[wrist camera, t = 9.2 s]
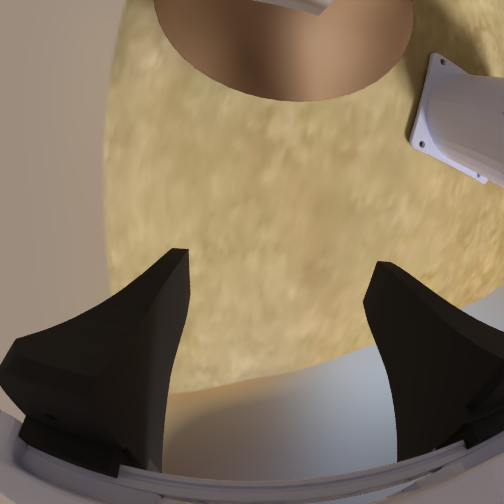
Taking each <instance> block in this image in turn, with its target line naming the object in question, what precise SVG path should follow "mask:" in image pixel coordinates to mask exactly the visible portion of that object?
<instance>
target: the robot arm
mask: <svg viewBox="0 0 504 504" xmlns="http://www.w3.org/2000/svg"><path fill="white" fill-rule="evenodd" d="M440 60H442V62H443V64H441V62H440ZM421 141H422V146H421V147H420V146H419V143H420V142H421ZM409 143H410V145H411V146H412V147H413V148H415V149H418V150H420V151H422V152H424V153H426V154H428V155H430V156H433V157H435V158H437V159H439V160H441V161H443V162H445V163H447V164H449V165H451V166H452V167H454V168H456V169H458V170H460V171H462V172H464V173H466V174H467V175H469V176H471V177H473V178H474V179H476V180H478V181H480V182H481V183H483V184H485V183H486V182H487V181H488V179H489V180H490V181H492V182H494V183H496V184H497V185H499V186H501V187H502V188H504V78H499V77H491V76H481V75H470V74H468V73H467V72H465V71H464V70H463V69H461V68H460V67H458V66H457V65H455V64H454V63H452V62H451V61H450V60H448V59H446V58H445V57H443V56H442V55H440V54H439V53H432V54H431V56H430V60H429V65H428V70H427V75H426V79H425V83H424V88H423V92H422V96H421V100H420V104H419V107H418V111H417V115H416V118H415V122H414V125H413V129H412V132H411V136H410V139H409ZM477 173H478V175H477ZM189 300H190V275H189V249H178V248H172V249H170V250H169V251H168V252H167V253H166V254H165V255H163V256H162V257H161V258H160V259H159V260H158V261H157V262H156V263H154V264H153V265H152V266H151V267H150V268H149V269H147V270H146V271H145V272H144V273H143V274H142V275H140V276H139V277H138V278H136V279H135V280H134V281H132V282H131V283H130V284H129V285H127V286H126V287H125V288H123V289H122V290H121V291H119V292H118V293H116V294H115V295H113V296H112V297H110V298H109V299H107V300H106V301H104V302H102V303H101V304H99V305H97V306H95V307H93V308H92V309H90V310H88V311H86V312H84V313H82V314H80V315H78V316H77V317H74V318H72V319H70V320H68V321H66V322H64V323H61V324H59V325H56V326H54V327H51V328H48V329H46V330H43V331H40V332H37V333H34V334H30V335H27V336H24V337H21V338H17V339H16V340H15V341H14V343H13V344H12V346H11V348H10V349H9V351H8V353H7V354H6V356H5V358H4V360H3V361H2V363H1V365H0V386H1V387H2V389H3V390H4V391H5V393H6V394H7V395H8V396H9V397H10V399H11V400H12V401H13V402H14V403H15V404H16V406H17V407H18V408H19V409H20V410H21V411H22V412H23V413H24V414H25V415H26V417H25V419H24V422H23V423H21V422H20V421H18V420H17V419H16V418H14V417H12V416H11V415H9V414H7V413H5V412H3V411H1V410H0V493H2V494H3V495H4V496H6V497H7V498H9V499H10V500H12V501H13V502H15V503H16V504H191V503H197V504H306V503H315V502H322V501H329V500H335V499H341V498H346V497H351V496H357V495H361V494H366V493H370V492H374V491H378V490H382V489H386V488H389V487H393V486H396V485H399V484H402V483H406V482H409V481H412V480H415V479H417V478H420V477H423V476H426V475H429V474H431V473H432V474H431V475H429V476H426V477H424V478H422V479H419V480H418V481H416V482H415V483H413V484H412V485H410V486H409V487H407V488H405V489H403V490H401V491H399V492H397V493H395V494H392V495H390V496H388V497H387V498H386V499H384V500H380V501H376V502H373V503H368V504H504V332H503V331H500V330H498V329H496V328H493V327H491V326H489V325H487V324H485V323H483V322H481V321H479V320H477V319H475V318H473V317H472V316H469V315H468V314H466V313H465V312H463V311H461V310H460V309H458V308H456V307H455V306H453V305H452V304H450V303H449V302H447V301H446V300H445V299H443V298H442V297H440V296H439V295H437V294H436V293H435V292H433V291H432V290H430V289H429V288H428V287H426V286H425V285H424V284H422V283H421V282H420V281H418V280H417V279H416V278H414V277H413V276H411V275H410V274H409V273H407V272H406V271H404V270H403V269H401V268H400V267H398V266H397V265H395V264H393V263H391V262H383V261H377V263H376V266H375V269H374V272H373V275H372V278H371V281H370V284H369V286H368V289H367V292H366V295H365V297H364V300H363V305H364V309H365V313H366V317H367V321H368V324H369V327H370V329H371V332H372V335H373V337H374V340H375V342H376V345H377V347H378V350H379V353H380V355H381V358H382V360H383V363H384V365H385V369H386V372H387V375H388V379H389V384H390V388H391V393H392V398H393V405H394V411H395V418H396V430H397V463H393V464H389V465H385V466H382V467H377V468H372V469H368V470H363V471H358V472H352V473H347V474H341V475H334V476H327V477H319V478H309V479H298V480H282V481H227V480H212V479H201V478H191V477H183V476H176V475H169V474H163V473H162V449H163V434H164V422H165V413H166V404H167V397H168V390H169V383H170V376H171V371H172V367H173V363H174V359H175V356H176V352H177V349H178V345H179V342H180V338H181V335H182V332H183V328H184V325H185V321H186V318H187V312H188V306H189ZM186 502H188V503H186Z"/></svg>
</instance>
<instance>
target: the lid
mask: <svg viewBox="0 0 504 504" xmlns="http://www.w3.org/2000/svg"><path fill="white" fill-rule="evenodd" d="M154 4H155V10H156V14H157V17H158V21H159V23H160V25H161V27H162V30H163V32H164V34H165V35H166V37H167V38H168V40H169V41H170V43H171V44H172V46H173V47H174V48H175V49H176V50H177V51H178V52H179V54H180V55H181V56H182V57H183V58H184V59H185V60H187V61H188V62H189V63H190V64H191V65H193V66H194V67H195V68H196V69H197V70H199V71H201V72H202V73H204V74H205V75H207V76H208V77H210V78H211V79H213V80H215V81H217V82H219V83H221V84H223V85H225V86H227V87H230V88H232V89H235V90H238V91H240V92H243V93H246V94H250V95H254V96H258V97H261V98H267V99H274V100H280V101H296V102H303V101H320V100H326V99H333V98H337V97H341V96H345V95H348V94H351V93H354V92H356V91H359V90H361V89H364V88H366V87H367V86H369V85H371V84H373V83H374V82H376V81H378V80H379V79H380V78H381V77H383V76H384V75H385V74H387V73H388V72H389V71H390V70H391V69H392V68H393V67H394V65H395V64H396V63H397V62H398V61H399V59H400V58H401V56H402V55H403V53H404V52H405V49H406V47H407V45H408V43H409V41H410V37H411V33H412V29H413V20H414V10H413V1H412V0H154Z"/></svg>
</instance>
